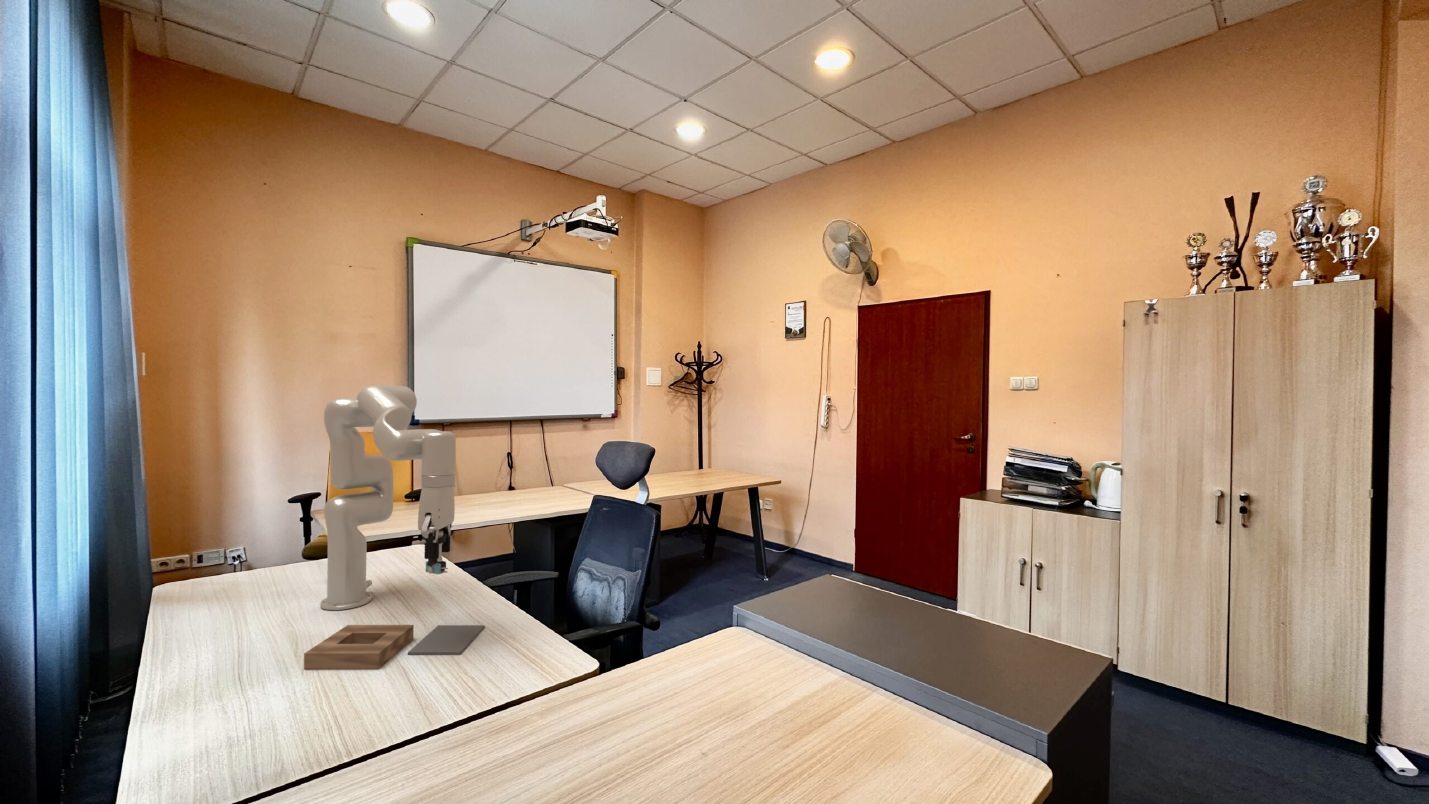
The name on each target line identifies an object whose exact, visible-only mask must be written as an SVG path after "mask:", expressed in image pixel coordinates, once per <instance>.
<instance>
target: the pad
mask: <svg viewBox="0 0 1429 804" xmlns="http://www.w3.org/2000/svg"><path fill="white" fill-rule="evenodd" d="M485 628H486V626H485V624H482V625H480V624H477V625H476V624H475V625H471V624H470V625H469V624H468V625H467V624H466V625H465V624H464V625H463V624H456V625H455V624H454V625H453V624H450V625H449V624H448V625H446V624H445V625H443V624H441V625H439V624H438V625H437V626H436V627H435V628H433V629H432V630H431V631H430V632H429V633H428V634H427V635H426V636H424V637H423V638H422V639H421V640H420V641H419V642H418V643H416V645H414V646H413V647H412V648H411V649H410V650H409V651H408V652H407V656H443V655H444V656H458V655H459V656H460V655H461V654H462V653H463V652H465V650H466V649H467V647H469V645H471V643H472V642H473V641H474V640H475V639H476V638H477V637H478V636H479V635H480V634H481V632H483V630H485Z"/></svg>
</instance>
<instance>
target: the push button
mask: <svg viewBox="0 0 1429 804" xmlns="http://www.w3.org/2000/svg"><path fill="white" fill-rule="evenodd" d="M430 533H432V534H433V536H434V532H430ZM446 537H447V534H443V531H441V530H439V534H438V540H437V542H439V558H438V559H427V561H425V572H426V573H428V574H431V575H432V574H434V575H441V574H443V573H444V574H446V573H448V571H447V570H448V569H449V568H448V567H447V561H445V560H443V556H442V555H443V552H442V544H443V543H444V542H445V541H446ZM422 540H423V541H424V538H423V537H422ZM423 544H424V545H425V543H424V542H423Z"/></svg>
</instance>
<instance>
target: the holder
mask: <svg viewBox="0 0 1429 804" xmlns="http://www.w3.org/2000/svg"><path fill="white" fill-rule="evenodd" d="M414 631H415V627H414V624H346V625H345V626H344V627H342V628H341V629H339V630H338V631H336V632H335V633H333V634H331V635H330V636H329V637H327V638H326V639H324V640H323V641H321V642H319V643H317V645H315V646H313V647H312V648H310V649H309V650H307V651H306V652H304V653H303V654H304V655H303V670H380V668H381V667H383V666H384V665H385V664H386V663H387V662H388V661H389V660H391V659H392V658H393V657H394V656H395V655H397V654H398V653H399V652H400V651H402V649H403V648H404V647H406V646H407V645H408V644H410V643H411V642H412V641H414V637H415V636H414V633H415V632H414Z"/></svg>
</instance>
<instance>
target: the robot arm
mask: <svg viewBox="0 0 1429 804" xmlns="http://www.w3.org/2000/svg"><path fill="white" fill-rule="evenodd" d="M417 402H418V400H417V396H416V394H415V392H414V391H413V390H412V389H411V388H410V387H408V386H404V385H387V384H385V385H383V384H373V385H368V386H365V387H363V388H362V389H360V391H359V392H358V394H357V396H356V397H340V398H335V399H332V400H330V401H329V402H328V403H327V404H326V406H325V409H324V411H323V423H324V427H325V430H326V434H327V437H328V439H329V445H330V446H329V449H330V450H329V468H330V470H329V471H330V472H329V475H330V477H329V478H330V483H331V485H332V486H333V488H334V489H337V490H355V489H365V488H370V491H363V492H352V493H345V494H339V495H335V496H333V497H332V498H331V497H330V499H329V500H327V501H326V503H325V504H324V508H323V515H324V516H323V517H324V520H325V525H326V533H327V571H326V572H327V573H326V574H327V581H326V582H327V584H326V585H327V587H326V589H327V590H326V592H327V593H326V598H323V600H321V602H320V608H322V609H323V610H326V611H341V610H350V609H353V608H358V607H361V606H363V605H366V604H368V603H370V602H371V601H372V600H373V595H372V593H370V592H367V589H368V588H369V587H371V586H372V585H373V581H372V580H371V579H367V545H368V543H367V539H366V536H365V535H364V534H363V533H362V532H361V531H360V530H359V528H358V527H360V526H363V525H369V524H376V523H381V522H385V521H387V520H388V519H390V518H391V516H392V514H393V512H394V511H393V509H394V469H393V465H392V463H391V461H394V462H395V461H397V462H402V461H412V460H414V461H415V460H421V476H420V477H421V478H420V479H421V481H420V483H421V484H420V485H421V491H420V498H419V502H418V512H417V513H418V514H417V515H418V517H417V529H418V530H419V531H420V534H421V535H422V539H423V538H424V540H423V544H424V543H425V544H424V554H423V555H424V559H425V560H428V559H438V558H439V542H437V540H438V534H439V530H441V531H443V534H447V537H446V541H445V542H444V543H443V544H442V553H450V552H451V536H452V531H451V530H452V526H453V525H452V524H453V522H455V513H456V512H455V505H456V504H455V491H454V488H455V487H456V456H457V455H456V454H457V453H456V449H457V447H456V445H457V443H456V441H457V437H456V434H455V433H453V432H452V431H445V430H444V431H443V430H439V429H435V428H434V429H432V428H429V429H428V428H427V429H426V428H425V429H424V428H423V429H407V427H408V426H409V425H410V424H411V421H412V414H413V413H414V411H416V408H417ZM357 428H372V429H373V430H372V436H373V442H374V445H375V447H376V448H377V449H378V450H379V452H381V454H371V455H370V454H369V455H368V454H367V455H366V452H365V447H366V446H365V439H364V437H363V435H362V434H361V433H360V432H359V430H358V429H357ZM390 460H391V461H390ZM430 532H434V536H433V534H432V533H430Z"/></svg>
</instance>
